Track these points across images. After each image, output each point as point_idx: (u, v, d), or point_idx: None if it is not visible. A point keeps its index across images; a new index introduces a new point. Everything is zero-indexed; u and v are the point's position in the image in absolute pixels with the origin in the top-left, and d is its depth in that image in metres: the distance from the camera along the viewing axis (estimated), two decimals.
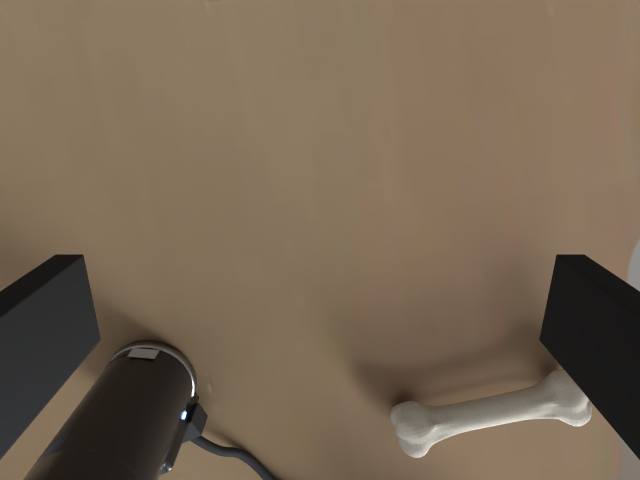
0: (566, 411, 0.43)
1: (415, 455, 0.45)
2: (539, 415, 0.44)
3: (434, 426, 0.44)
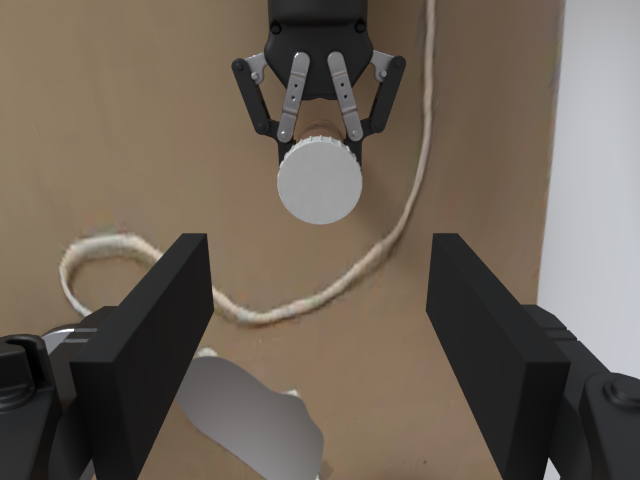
0: None
1: None
2: None
3: None
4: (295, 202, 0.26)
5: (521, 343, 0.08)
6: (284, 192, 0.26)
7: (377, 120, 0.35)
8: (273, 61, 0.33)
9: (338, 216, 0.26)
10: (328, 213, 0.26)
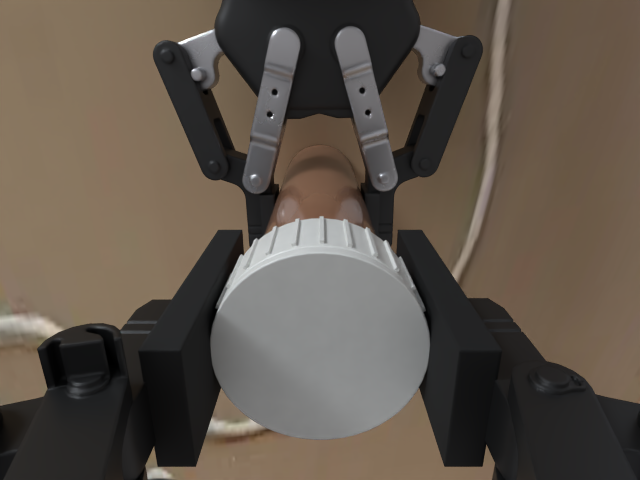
0: None
1: None
2: None
3: None
4: (257, 394, 0.10)
5: (458, 333, 0.08)
6: (228, 372, 0.10)
7: (425, 155, 0.19)
8: (232, 46, 0.18)
9: (366, 423, 0.11)
10: (341, 417, 0.10)
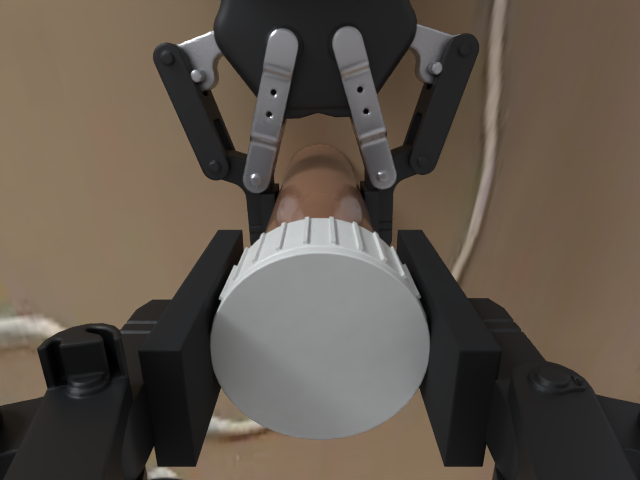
0: None
1: None
2: None
3: None
4: (398, 367, 0.10)
5: (458, 333, 0.08)
6: (395, 397, 0.10)
7: (423, 152, 0.19)
8: (231, 47, 0.18)
9: (352, 266, 0.09)
10: (364, 291, 0.09)
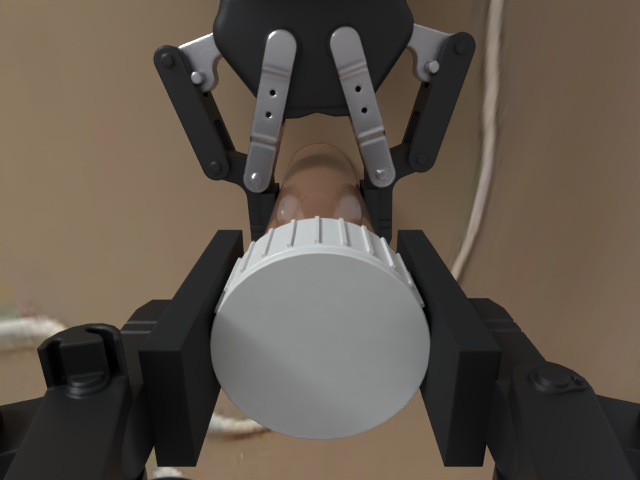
0: None
1: None
2: None
3: None
4: (274, 293, 0.09)
5: (458, 333, 0.08)
6: (305, 268, 0.09)
7: (421, 150, 0.19)
8: (230, 49, 0.18)
9: (232, 389, 0.10)
10: (241, 368, 0.10)
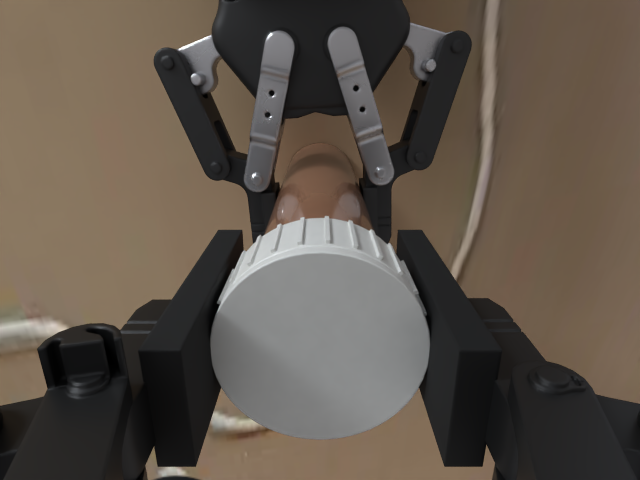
0: None
1: None
2: None
3: None
4: (300, 416, 0.10)
5: (458, 333, 0.08)
6: (264, 413, 0.10)
7: (419, 148, 0.20)
8: (229, 50, 0.18)
9: (410, 384, 0.10)
10: (384, 393, 0.10)
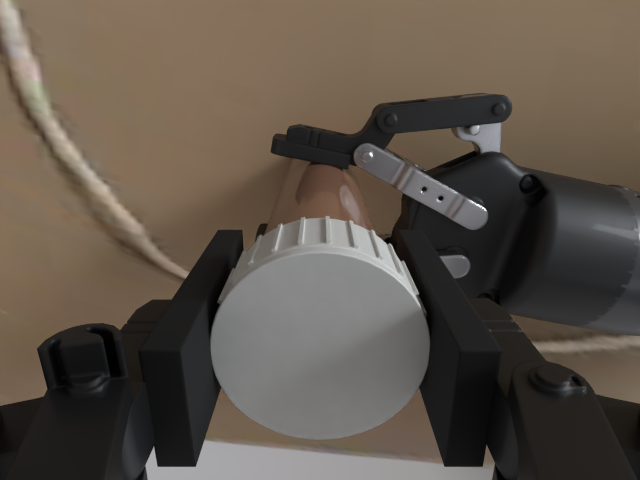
0: None
1: None
2: None
3: None
4: (300, 416, 0.10)
5: (458, 333, 0.08)
6: (263, 413, 0.10)
7: None
8: (484, 168, 0.20)
9: (410, 384, 0.10)
10: (384, 393, 0.10)
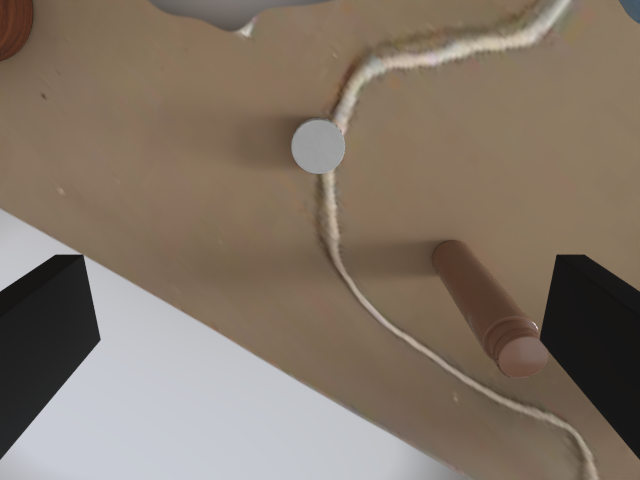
0: None
1: None
2: None
3: None
4: (313, 166, 0.41)
5: None
6: (304, 165, 0.41)
7: None
8: None
9: (340, 156, 0.41)
10: (334, 158, 0.41)
